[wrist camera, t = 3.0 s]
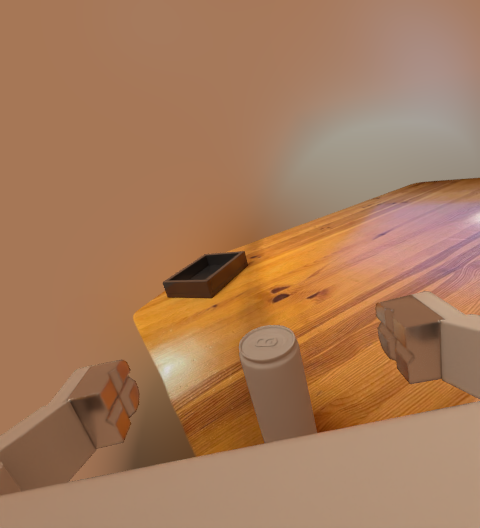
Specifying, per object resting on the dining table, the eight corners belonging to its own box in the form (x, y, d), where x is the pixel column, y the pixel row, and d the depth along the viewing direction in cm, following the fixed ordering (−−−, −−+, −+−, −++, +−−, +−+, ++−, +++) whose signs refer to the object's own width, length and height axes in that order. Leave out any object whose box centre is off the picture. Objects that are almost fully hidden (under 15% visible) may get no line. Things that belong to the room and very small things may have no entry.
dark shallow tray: (211, 298, 64) (206, 281, 63) (167, 297, 71) (162, 282, 69) (248, 265, 78) (244, 251, 77) (208, 267, 85) (204, 254, 84)
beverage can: (320, 479, 24) (293, 360, 20) (263, 473, 26) (229, 361, 22) (321, 428, 29) (299, 322, 25) (272, 425, 30) (245, 325, 26)
